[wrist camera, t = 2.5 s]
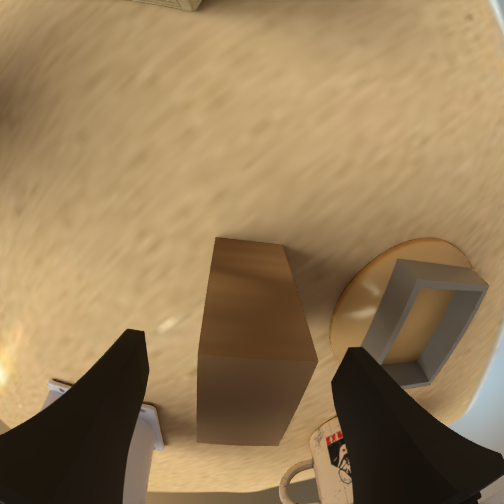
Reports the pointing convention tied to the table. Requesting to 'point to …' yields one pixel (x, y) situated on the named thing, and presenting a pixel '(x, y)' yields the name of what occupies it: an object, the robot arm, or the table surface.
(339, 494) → the teacup with lid
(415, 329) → the grey open box
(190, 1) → the skincare box
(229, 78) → the table surface
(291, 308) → the brown wooden block
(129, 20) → the table surface
